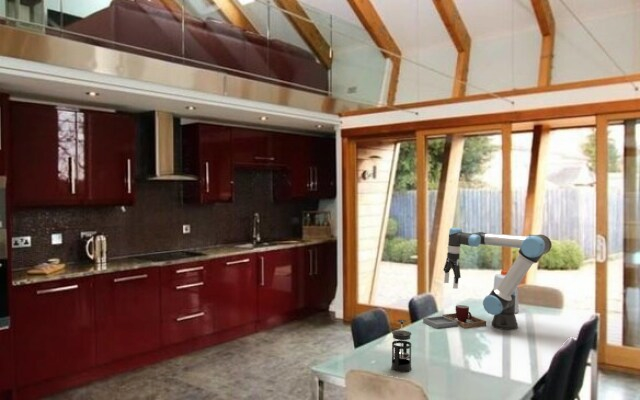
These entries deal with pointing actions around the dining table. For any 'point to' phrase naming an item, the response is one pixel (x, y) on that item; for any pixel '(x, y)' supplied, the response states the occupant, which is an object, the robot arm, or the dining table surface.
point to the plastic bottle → (497, 281)
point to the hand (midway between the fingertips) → (450, 285)
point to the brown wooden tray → (475, 323)
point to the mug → (462, 313)
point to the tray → (440, 322)
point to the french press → (401, 357)
